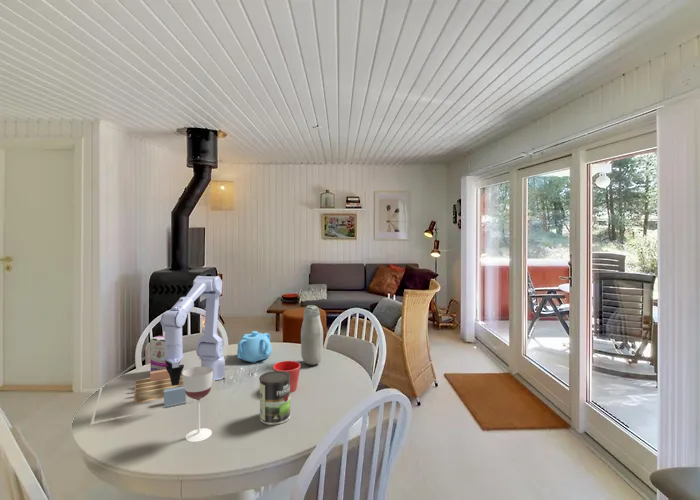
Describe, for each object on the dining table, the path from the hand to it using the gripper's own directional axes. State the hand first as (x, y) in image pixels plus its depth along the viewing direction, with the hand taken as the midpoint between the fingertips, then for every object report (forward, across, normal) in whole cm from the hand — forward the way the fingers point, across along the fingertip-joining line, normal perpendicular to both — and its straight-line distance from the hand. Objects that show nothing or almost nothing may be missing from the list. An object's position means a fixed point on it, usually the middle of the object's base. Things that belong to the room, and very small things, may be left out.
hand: (174, 381), depth 131 cm
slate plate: (+9, 0, 0) cm, 9 cm away
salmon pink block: (+8, -18, -4) cm, 20 cm away
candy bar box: (+9, -33, -2) cm, 34 cm away
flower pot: (+9, +7, +40) cm, 42 cm away
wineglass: (+9, +25, +5) cm, 27 cm away
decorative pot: (+9, -34, +38) cm, 52 cm away
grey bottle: (+9, -14, +60) cm, 62 cm away
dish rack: (+9, -14, -4) cm, 17 cm away
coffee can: (+9, +26, +29) cm, 40 cm away
